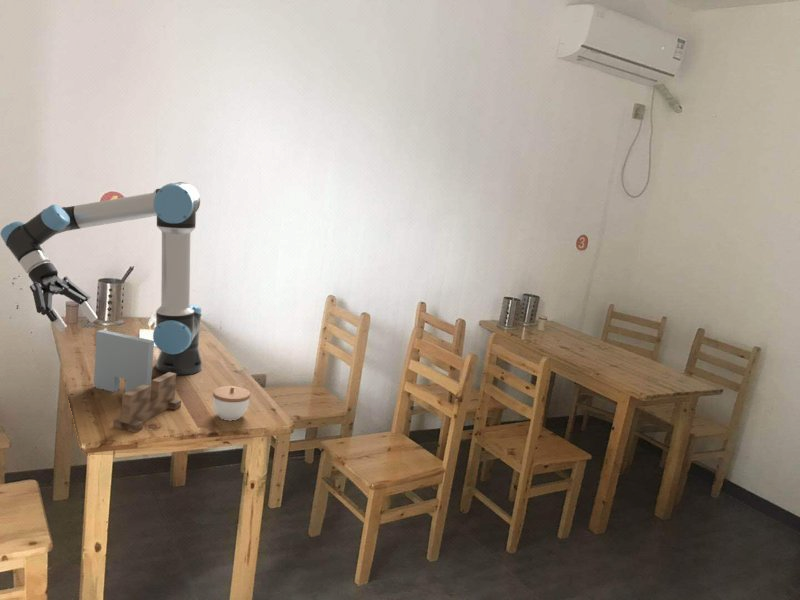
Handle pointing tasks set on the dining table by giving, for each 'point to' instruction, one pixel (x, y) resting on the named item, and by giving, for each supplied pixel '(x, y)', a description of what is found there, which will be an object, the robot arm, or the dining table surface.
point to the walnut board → (147, 402)
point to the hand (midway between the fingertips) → (79, 324)
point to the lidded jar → (230, 402)
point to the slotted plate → (122, 361)
